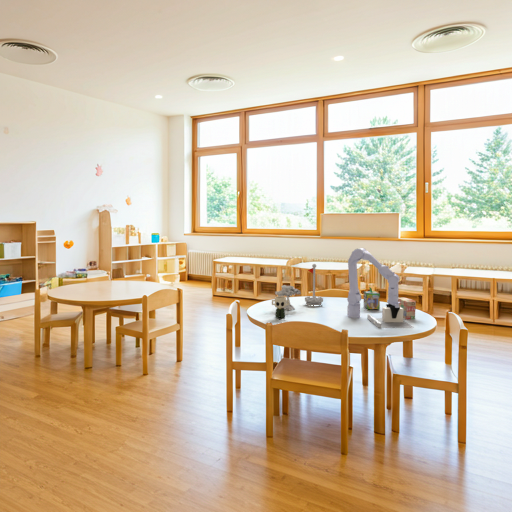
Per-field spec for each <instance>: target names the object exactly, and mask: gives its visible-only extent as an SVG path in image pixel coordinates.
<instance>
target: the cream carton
mask: <svg viewBox="0 0 512 512" xmlns="http://www.w3.org/2000/svg"><path fill="white" fill-rule="evenodd" d="M403 310H404V309H403V308H401V307H400V309H399V311H398V313H397V317H396V318H392V313H391V309H390V307H387V306H384V307H383V306H382V315H381V316H382V317H381V318H382V321H384V322H403V321H404V318H403Z"/></svg>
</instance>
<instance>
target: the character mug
mask: <svg viewBox="0 0 512 512" xmlns="http://www.w3.org/2000/svg"><path fill="white" fill-rule="evenodd" d="M289 300H290V299H289ZM289 300H287V296H278V295H276V296H275V297H274V299H272V300H271V305H272V306H274V307H275V308H276V309H275V314H274V315H275V316H274V317H275V318H278V319H279V318H280V319H282V318H283V319H284V318H286V310H285V309H284V308H285V307H286V305H289ZM286 302H288V304H286Z"/></svg>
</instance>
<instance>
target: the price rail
mask: <svg viewBox="0 0 512 512" xmlns="http://www.w3.org/2000/svg"><path fill="white" fill-rule="evenodd" d="M366 318H367V320H369V322H371V323H372V324H373V325H374V324H375V325H374V326H376V328H378V329H382V328H381V323H380V322H379V321H378V320H376V319H375V317H374V316H372V314H370V313H369V314H367V317H366Z"/></svg>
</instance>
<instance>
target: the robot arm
mask: <svg viewBox="0 0 512 512" xmlns="http://www.w3.org/2000/svg"><path fill="white" fill-rule="evenodd" d="M347 260H348V261H347V265H348V266H347V267H348V269H347V270H348V282H349V285H348V286H349V290H348V296H347V298H346V300H347V302H348V303H347V304H348V305H347V313H346V314H347V316H348V318H351V319H359V318H361V303H360V302H361V301H362V295H361V293H360V289H359V280H358V279H359V278H358V266H357V264H358V263H359V261H361V260H365V261H368V262H369V263H371V264H372V265H373V266H374V268H376V269H377V272H378V273H379V274H380V276H382V277H383V278H384V279H385V280H386V281H387V283H388V291H387V293H388V294H387V300H386V301H387V302H386V304H385V307H390V309H391V313H392V318H396V317H397V313H398V311H399V309H400V307H399V303H400V302H398V298H399V289H400V288H399V282H400V279H401V278H400V276H399V275H398V273H395V271H392V270H391V269H390V267H389V265H386V264H382V263H381V262H380V261H378V259H377V258H376V257H375V256H374V255H373V254H372V253H371V252H370V251H368V250H367V249H366V248H364V247H359V248H355V249H354V250H353V251H352V252H351V254H350V256H349V258H348V259H347Z"/></svg>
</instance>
